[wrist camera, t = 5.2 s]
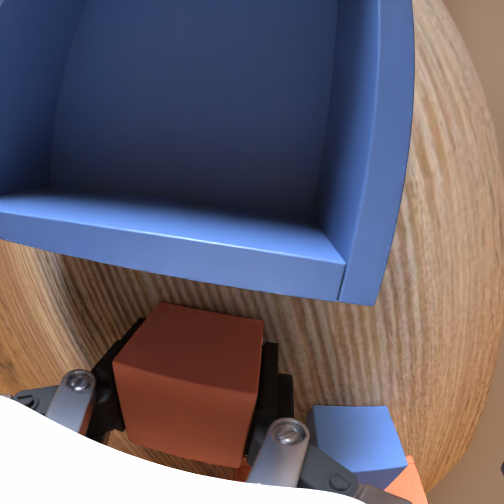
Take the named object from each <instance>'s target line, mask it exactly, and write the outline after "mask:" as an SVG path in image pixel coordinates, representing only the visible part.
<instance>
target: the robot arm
mask: <svg viewBox="0 0 504 504" xmlns="http://www.w3.org/2000/svg"><path fill="white" fill-rule="evenodd" d="M146 319H147V318H143V317H140V318H139V319H138V320H137V321H136V322H135V323H134V324H133V326H132V327H131V328H130V329H129V330H128V331H127V333H126V334H125V335H124V336H123V337H122V339H121V340H117V341H116V342H115V343H114V344H113V345H112V346H111V348H110V349H109V350H108V351H107V352H106V354H105V355H104V356H103V357H102V358H101V359H100V361H99V362H98V363H97V364H96V365H95V367H94V368H93V369H92V370H91V371H90V372H89V371H87V370H83V369H76V370H72V371H69V372H68V373H67V374H65V376H64V377H63V379H62V381H61V383H60V385H56V386H50V387H44V388H37V389H30V390H24V391H21V392H19V393H17V394H16V395H15V396H14V397H13V396H12V394H0V504H412V502H410V501H409V500H407V499H404V498H402V497H399V496H396V495H394V494H391V493H389V492H386V491H384V490H382V489H379V488H377V487H375V486H372V485H370V484H368V483H367V484H366V485H363V484H361V483H359V482H358V479H357V477H356V475H355V474H354V473H352V472H351V471H350V470H348V469H347V468H345V467H344V466H342V465H341V464H340V463H338V462H337V461H335V460H334V459H332V458H331V457H330V456H328V455H327V454H325V453H324V452H323V451H321V450H320V449H318V448H317V447H316V446H314V445H313V444H312V443H310V442H309V438H310V432H309V430H308V428H307V426H306V425H305V424H304V423H302V422H301V421H299V420H296V419H294V398H293V378H292V375H289V374H281V373H278V343H273V342H265V345H264V344H262V352H261V363H260V374H259V384H258V394H257V399H256V404H255V408H254V412H253V417H252V421H251V425H250V429H249V433H248V438H247V442H246V446H245V450H244V454H243V455H247V461H246V462H248V464H249V465H250V466H251V467H252V469H251V471H250V473H249V475H248V478H247V480H246V482H245V483H244V482H237V481H230V480H224V479H218V478H213V477H208V476H203V475H198V474H194V473H190V472H185V471H181V470H177V469H174V468H170V467H166V466H163V465H159V464H156V463H153V462H149V461H146V460H143V459H140V458H137V457H134V456H131V455H129V454H126V453H123V452H120V451H118V450H115V449H113V448H110V447H108V446H107V445H108V441H109V436H110V431H112V430H114V429H116V430H118V431H121V432H123V431H124V429H125V428H126V427H125V423H124V419H123V415H122V410H121V406H120V401H119V397H118V392H117V387H116V382H115V376H114V370H113V364H112V362H113V360H114V358H115V357H116V356H117V355H118V353H119V352H120V351H121V350H122V348H123V347H124V346H125V345H126V343H127V342H128V341H129V340H130V338H131V337H132V336H133V335H134V333H135V332H136V331H137V330H138V328H139V327H140V326H141V325H142V323H143V322H144V321H145V320H146Z"/></svg>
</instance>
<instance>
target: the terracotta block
mask: <svg viewBox="0 0 504 504" xmlns="http://www.w3.org/2000/svg"><path fill="white" fill-rule="evenodd" d="M263 330H264V321H262V320H255V319H249V318H243V317H237V316H231V315H225V314H220V313H214V312H209V311H203V310H198V309H193V308H188V307H183V306H178V305H173V304H168V303H164V302H160V303H159V304H158V305H157V306H156V308H155V309H154V310H153V311H152V313H151V314H150V315H149V316H148V317H147V319H146V320H145V321H144V322H143V323H142V325H141V326H140V327H139V328H138V330H137V331H136V332H135V333H134V335H133V336H132V337H131V338H130V340H129V341H128V342H127V343H126V345H125V346H124V347H123V348H122V350H121V351H120V352H119V353H118V355H117V356H116V357H115V358H114V360H113V362H112V364H113V370H114V376H115V382H116V387H117V392H118V397H119V401H120V406H121V410H122V415H123V419H124V423H125V427H126V431H127V434H128V438H129V441H130V442H132V443H135V444H138V445H141V446H144V447H147V448H150V449H153V450H157V451H160V452H164V453H167V454H171V455H175V456H178V457H182V458H187V459H191V460H195V461H200V462H205V463H210V464H215V465H220V466H226V467H232V468H240V466H241V462H242V458H243V454H244V450H245V446H246V442H247V438H248V433H249V429H250V425H251V421H252V417H253V412H254V408H255V404H256V399H257V394H258V384H259V374H260V363H261V352H262V341H263Z"/></svg>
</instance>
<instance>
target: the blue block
mask: <svg viewBox="0 0 504 504" xmlns="http://www.w3.org/2000/svg"><path fill="white" fill-rule="evenodd" d="M305 425H306V426H307V428H308V430H309V432H310V438H309V442H310V443H312V444H313V445H314V446H316V447H317V448H318V449H320V450H321V451H323V452H324V453H325V454H327V455H328V456H330V457H331V458H332V459H334V460H335V461H337V462H338V463H340V464H341V465H342V466H344V467H345V468H347V469H348V470H350V471H351V472H352V473H354V474H355V475H356V477H357V479H358V482H359V483H361V484H363V485H366V484H367V483H368V484H370V485H372V486H375V487H377V488H379V489H382V490H385V489H386V488H387V487H388V486H389V485H390V484H391V483H392V482H393V481H394V480H395V479H396V478H397V477H398V476H399V475H400V474H401V473H402V472H403V470H404V469H405V468H406V467H407V466H408V462H407V460H406V457H405V454H404V451H403V448H402V446H401V443H400V440H399V437H398V435H397V432H396V429H395V427H394V424H393V421H392V419H391V416H390V414H389V411H388V408H387V407H386V406H369V407H352V406H321V405H313V406H312V408H311V411H310V413H309V416H308V418H307V420H306V423H305Z"/></svg>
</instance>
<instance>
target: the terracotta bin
mask: <svg viewBox="0 0 504 504" xmlns="http://www.w3.org/2000/svg"><path fill="white" fill-rule="evenodd" d="M405 457H406V460H407V462H408V466H407V467H406V468H405V469H404V470H403V472H402V473H401V474H400V475H399V476H398V477H397V478H396V479H395V480H394V481H393V482H392V483H391V484H390V485H389V486H388V487H387V488H386V489H385V490H384V491H386V492H389V493H391V494H394V495H396V496H399V497H402V498H404V499H407V500H409V501H410V502H412V504H428V502H427V499H426V496H425V493H424V490H423V487H422V484H421V481H420V478H419V475H418V472H417V470H416V467H415V464H414V461H413V458H412V456H405ZM246 461H247V458H244V457H243V458H242V462H241V466H240V468H237V469H236V473H235V477H234V481H237V482H244V483H245V482H246V480H247V478H248V475H249V473H250V471H251V469H252V467H251V466H250V465H249V464H248V462H246Z"/></svg>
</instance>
